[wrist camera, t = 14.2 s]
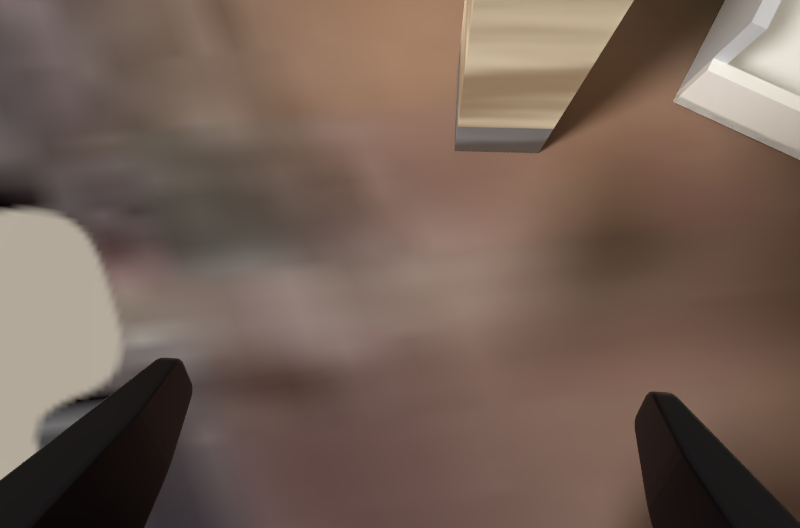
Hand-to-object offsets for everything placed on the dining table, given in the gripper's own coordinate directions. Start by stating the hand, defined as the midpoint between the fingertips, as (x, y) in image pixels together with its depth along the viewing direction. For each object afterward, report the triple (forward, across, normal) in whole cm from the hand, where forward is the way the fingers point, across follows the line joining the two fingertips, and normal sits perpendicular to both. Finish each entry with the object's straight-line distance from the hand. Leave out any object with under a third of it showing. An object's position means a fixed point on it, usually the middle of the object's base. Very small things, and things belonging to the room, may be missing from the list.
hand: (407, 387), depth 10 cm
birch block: (+18, -3, +1) cm, 18 cm away
